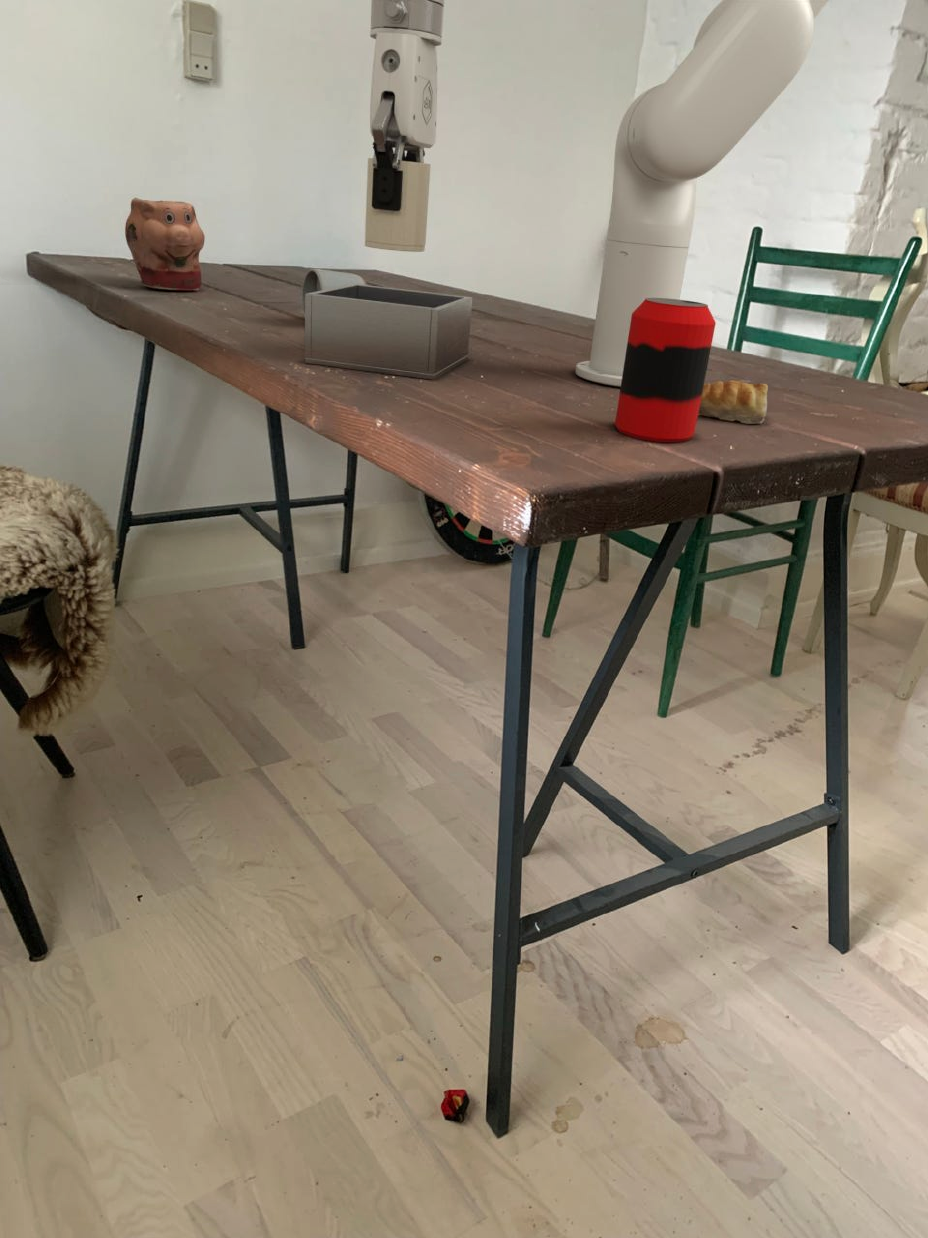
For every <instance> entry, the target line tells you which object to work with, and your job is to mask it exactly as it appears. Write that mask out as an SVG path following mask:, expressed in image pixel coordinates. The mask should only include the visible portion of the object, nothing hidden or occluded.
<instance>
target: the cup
mask: <svg viewBox="0 0 928 1238" xmlns="http://www.w3.org/2000/svg"><path fill="white" fill-rule="evenodd" d="M366 165H367V166H366V188H365V189H366V191H365V192H366V193H365V218H364V246H365V247H367V248H370V249H371V248H372V249H379V250H388V251H397V252H409V253H411V252H412V253H418V252H419V253H421V252H425V251H426V250H425V249H426V245H427V244H426V242H427V241H426V240H427V227H428V214H429V213H428V212H429V198H430V197H429V196H430V180H431V163H427V162H426V163H425V162H424V163H417V162H408V161H401V164H400V169H399V170H400V171H403V181H402V199H401V209H400V211H390V210H381V209H374V208H373V207H372V187H373V168H374V167H373V157H368V158H367V164H366Z"/></svg>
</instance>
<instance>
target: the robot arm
mask: <svg viewBox="0 0 928 1238" xmlns="http://www.w3.org/2000/svg"><path fill="white" fill-rule="evenodd" d="M829 1H830V0H721V2H719V3H718V4H717V5H716V6H715V7H714V8H713V10H711V12H710V13H709V14H708V15H707V17H706V18H705V20H704V21H703V22H702V24H701V25H700V28H699V30H698V31H697V34H696V37H695V40H694V43H693V47H692V50H691V51H690V52H689V53H688V54H687V55H686V56H685V58H684V59H683V60H682V62H681V63H680V64H679V65H678V67H677V68H676V69H674V71H673V73H671V75H670V76H669V77H668V79H666V81H665V82H663V83H661V84H657V85H655V86H653V87H651V88H648V89H646V90H645V91H644V92H642V93H641V94H639V95H638V96H637V97H636V98H635V99H634V101H632V102H631V104H630V105H629V106H628V108H627V109H626V111H625V112H624V115H623V116H622V119H621V121H620V124H619V127H618V132H617V134H616V140H615V148H614V160H613V161H614V163H613V181H612V193H611V203H610V212H609V220H608V225H607V235H606V240H605V248H604V256H603V257H604V258H603V262H602V270H601V276H600V284H599V291H598V298H597V306H596V311H595V312H596V313H595V320H594V328H593V335H592V342H591V348H590V356H589V360H585V361H584V360H583V361H580V362H578V363H576V365H575V374H576V375H577V377H578V378H579V377H580V378H581V379H584V380H587V381H590V382H592V383H593V382H594V383H597V384H601V385H607V386H613V387H618V388H621V381H622V375H623V368H624V362H625V355H626V349H627V342H628V336H629V329H630V323H631V316H632V313H633V312H634V311H635V310H636V309H637V308H638V307H639V306H640V305H641V303H642V302H643V301H644V300H645V298H668V299H678V300H681V294H682V289H683V282H684V277H685V271H686V265H687V260H688V253H689V249H690V245H691V244H690V243H691V238H692V234H693V233H692V232H693V226H694V218H695V209H696V198H697V180H698V178H700V177H702V176H704V175H706V174H707V173H708V172H710V171H711V170H713V169H714V168H715V167H716V166H718V164H720V163H721V161H722V160H723V159H724V158H725V157H726V156H727V155H728V154H729V153H730V152H731V151H732V150H733V149H734V148H735V146H736V145H737V144H738V143H739V142H740V141H741V140H742V139H743V137H745V136H746V134H747V133H748V132H749V131H750V130H751V128H752V127H754V125H755V124H756V123H757V122H758V121H759V119H760V118H761V117H762V115H764V113H765V112H767V110H768V109H769V108H770V107H771V106H772V104H773V103H774V102H775V101H776V100H777V99H778V97H779V96H781V94H782V93H783V92H784V91H785V89H786V88H787V87H788V86H789V84H790V83H791V82H792V81H793V80H794V78H795V77H796V76H797V74H798V72H799V71H800V70H801V68H802V66H803V64H804V62H805V61H806V59H807V57H808V54H809V52H810V49H811V46H812V43H813V38H814V30H815V19H816V18H817V16H818V15H819V14H820V12H821V11H822V9H823V8H824V7H825V6H826V5H827V3H828V2H829ZM370 6H371V8H370V9H371V10H370V32H369V33H370V35H369V37H370V38H371V39H374V40H375V45H374V51H373V52H374V54H373V63H372V75H371V86H370V87H371V89H370V103H369V105H370V106H369V129H370V134H371V136H372V137H373V142H372V149H373V151H374V152H373V157H372V158H373V167H374V168H373V187H372V207H373V208H374V209H381V210H390V211H400V209H401V199H402V181H403V171H400V170H399V169H400V164H401V161H408V162H417V163H425V160H424V157H425V155H426V151H425V149H431V148H433V146H434V145H435V143H436V138H437V114H438V113H437V111H438V110H437V109H438V108H437V107H438V56H437V47H439V46H441V45H442V39H443V26H444V12H445V11H444V9H445V0H371V5H370Z"/></svg>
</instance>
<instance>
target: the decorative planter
mask: <svg viewBox="0 0 928 1238" xmlns="http://www.w3.org/2000/svg"><path fill="white" fill-rule="evenodd" d="M124 236H125V241H126V244H127V247H128V248H129V251H130V253H131V256H132V260H133V262H134V264H135V267H136V270H137V272H138V274H139V276H140V280H141V284H142V285H143V287H148V288H151V289H158V290H169V291H199V290H200V289H201V286H202V281H203V280H202V272H201V271H202V270H201V266H200V253H201V251H202V250H203V248H204V245H205V241H206V239H205V238H206V237H205V233H204V230H203V229H202V227H201V226H200V224H199V221H198V219H197V214H196V209H195V207H194V205H193V204H191V203H188V202H185V201H173V200H148V199H142V198H139V197H133V198H132V199H131V201H130V213H129V215H128V216H127V218H126V221H125V226H124Z"/></svg>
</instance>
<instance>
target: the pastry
mask: <svg viewBox="0 0 928 1238" xmlns="http://www.w3.org/2000/svg"><path fill="white" fill-rule="evenodd" d="M768 391H769V386H768V384H767V383H762V382H759V383H757V384H752V383H748V382H743V381H738V380H733V379H732V380H731V379H730V380H728V381H721V380H718V381H715V382H709V383H704V386H703V391H702V397H701V402H700V407H699V412H698V416H705V417H707V418H716V419H719V420H723V421H730V422H734V421H739V422H740V423H741V424H749V425H752V424H753V425H754V424H755V425H756V424H763V422H764V420H765V417H766V415H767V409H768Z"/></svg>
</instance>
